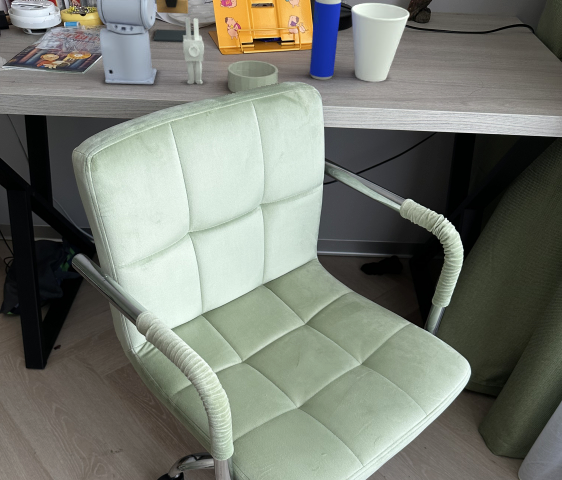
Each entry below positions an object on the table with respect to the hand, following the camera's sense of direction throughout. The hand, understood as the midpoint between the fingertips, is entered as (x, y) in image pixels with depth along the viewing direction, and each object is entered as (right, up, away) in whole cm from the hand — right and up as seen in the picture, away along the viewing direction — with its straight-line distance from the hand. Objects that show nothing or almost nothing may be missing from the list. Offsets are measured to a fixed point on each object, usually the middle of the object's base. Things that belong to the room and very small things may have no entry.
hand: (172, 5), depth 133 cm
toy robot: (+8, -27, -16) cm, 32 cm away
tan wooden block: (0, -1, +1) cm, 1 cm away
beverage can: (+34, -22, -9) cm, 41 cm away
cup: (+45, -21, -8) cm, 50 cm away
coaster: (0, -4, +5) cm, 6 cm away
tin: (+19, -27, -16) cm, 37 cm away
